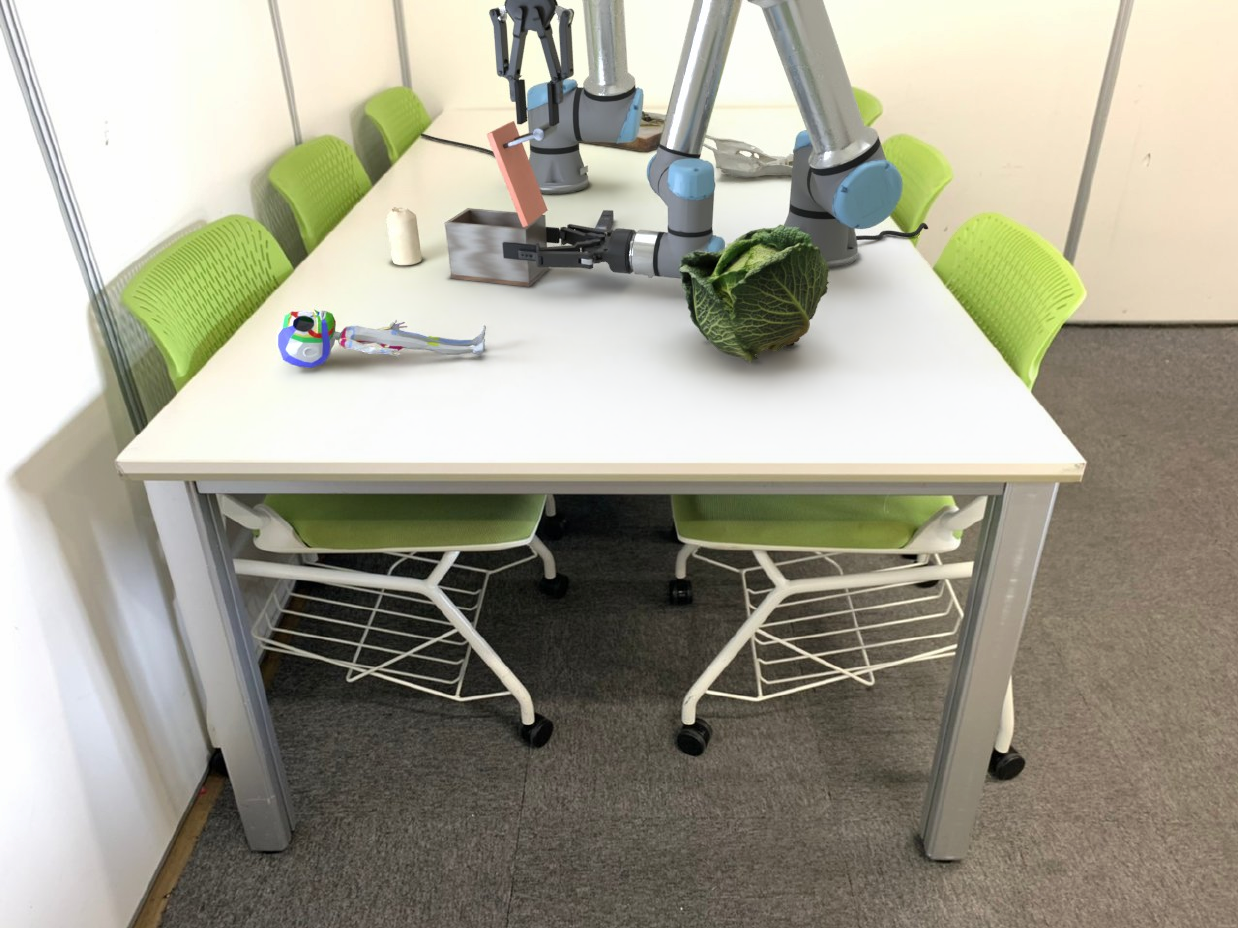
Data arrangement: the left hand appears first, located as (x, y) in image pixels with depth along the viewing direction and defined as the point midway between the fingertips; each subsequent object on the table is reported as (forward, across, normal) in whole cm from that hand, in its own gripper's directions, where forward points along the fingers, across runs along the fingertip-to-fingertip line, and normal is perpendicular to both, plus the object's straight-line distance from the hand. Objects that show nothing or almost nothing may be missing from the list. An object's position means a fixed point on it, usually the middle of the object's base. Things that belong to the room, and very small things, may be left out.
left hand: (538, 123), depth 149 cm
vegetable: (+27, +41, -20) cm, 53 cm away
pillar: (+27, +2, +25) cm, 37 cm away
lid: (+9, -5, 0) cm, 10 cm away
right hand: (+20, -6, 0) cm, 21 cm away
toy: (+27, -11, -38) cm, 48 cm away
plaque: (+28, -17, +114) cm, 118 cm away
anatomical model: (+27, +23, +79) cm, 87 cm away
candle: (+27, -29, +1) cm, 40 cm away
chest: (+27, -9, 0) cm, 28 cm away
